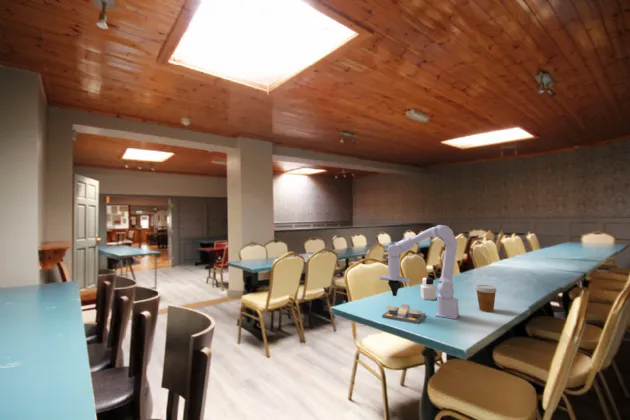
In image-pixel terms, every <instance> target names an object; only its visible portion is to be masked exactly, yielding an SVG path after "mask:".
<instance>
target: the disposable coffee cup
mask: <svg viewBox="0 0 630 420" xmlns="http://www.w3.org/2000/svg"><path fill="white" fill-rule="evenodd" d="M475 291H476V294H477V295H476V296H477V301H478V308H479V311H482V312H484V311H486V312H485V313H492V311H493V312H494V311H495V310H494V308H495V301H496V293H497V288H496V287H495V286H493V285H488V284H477V285H476V286H475Z"/></svg>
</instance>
